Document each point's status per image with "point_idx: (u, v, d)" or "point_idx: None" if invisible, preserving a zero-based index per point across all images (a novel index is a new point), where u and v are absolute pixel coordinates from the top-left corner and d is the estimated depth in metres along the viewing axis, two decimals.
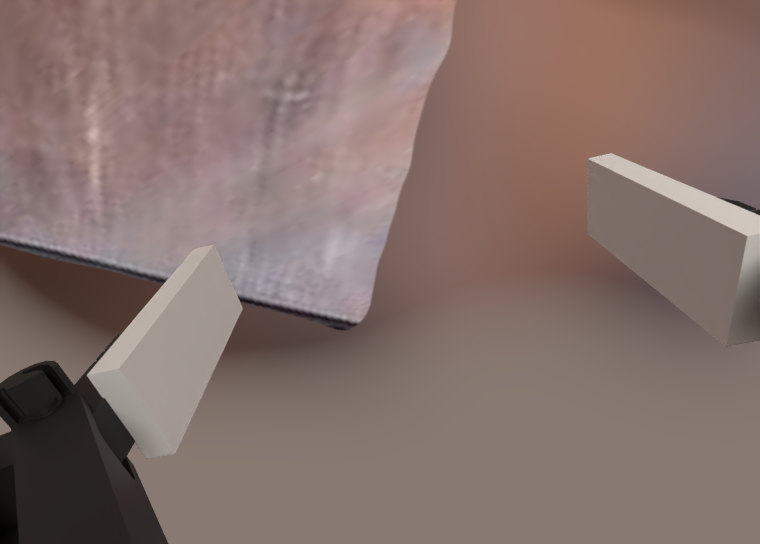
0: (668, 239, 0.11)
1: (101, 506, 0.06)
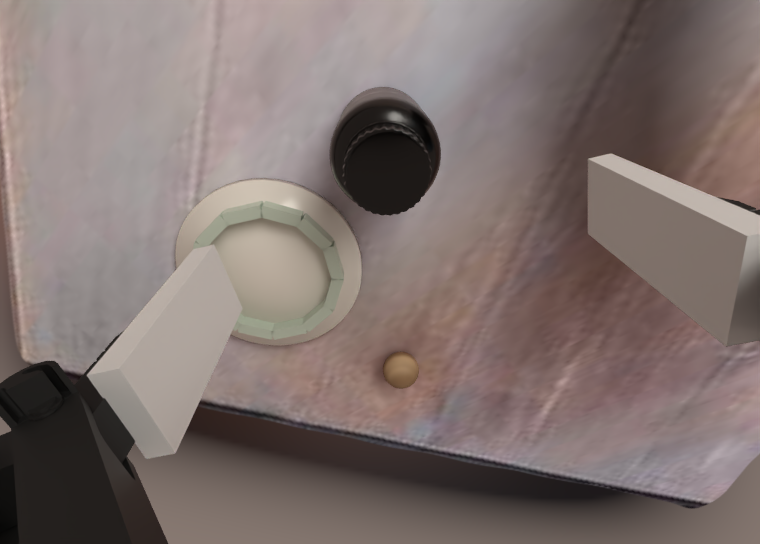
0: (668, 239, 0.11)
1: (101, 506, 0.06)
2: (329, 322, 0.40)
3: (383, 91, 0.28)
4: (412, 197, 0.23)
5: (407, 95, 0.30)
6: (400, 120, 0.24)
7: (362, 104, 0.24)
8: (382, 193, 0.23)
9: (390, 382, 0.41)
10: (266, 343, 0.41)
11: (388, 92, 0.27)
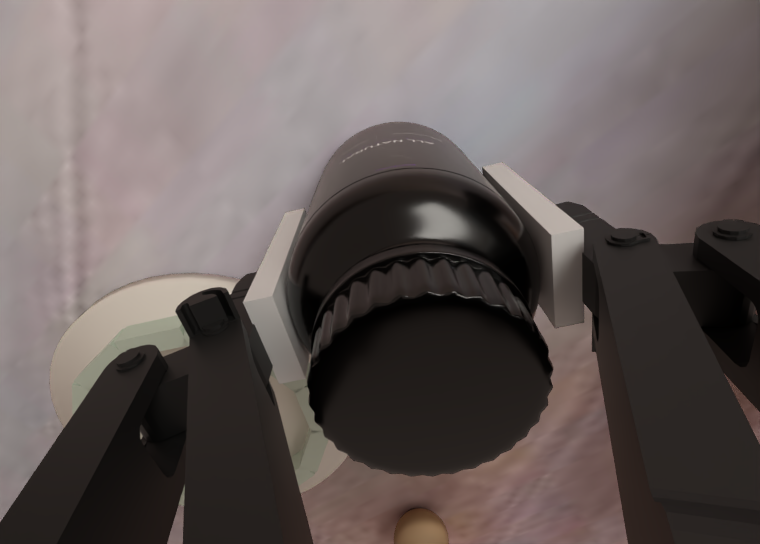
0: None
1: (249, 427, 0.07)
2: (310, 478, 0.25)
3: (404, 139, 0.13)
4: (494, 443, 0.09)
5: (448, 140, 0.15)
6: (457, 233, 0.09)
7: (361, 188, 0.10)
8: (415, 437, 0.09)
9: None
10: None
11: (416, 143, 0.13)
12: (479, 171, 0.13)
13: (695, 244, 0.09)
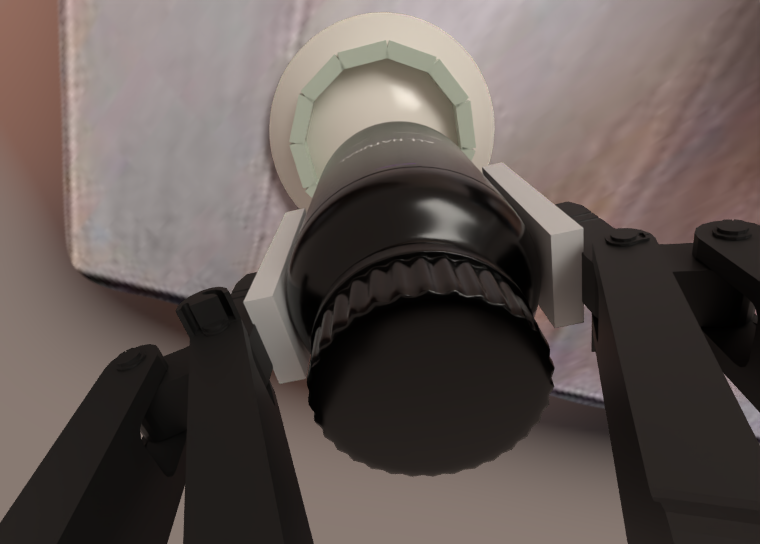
0: None
1: (249, 427, 0.07)
2: None
3: (404, 138, 0.13)
4: (495, 443, 0.09)
5: (447, 139, 0.15)
6: (458, 232, 0.09)
7: (361, 186, 0.10)
8: (415, 436, 0.09)
9: None
10: None
11: (416, 142, 0.13)
12: (479, 170, 0.13)
13: (694, 244, 0.09)
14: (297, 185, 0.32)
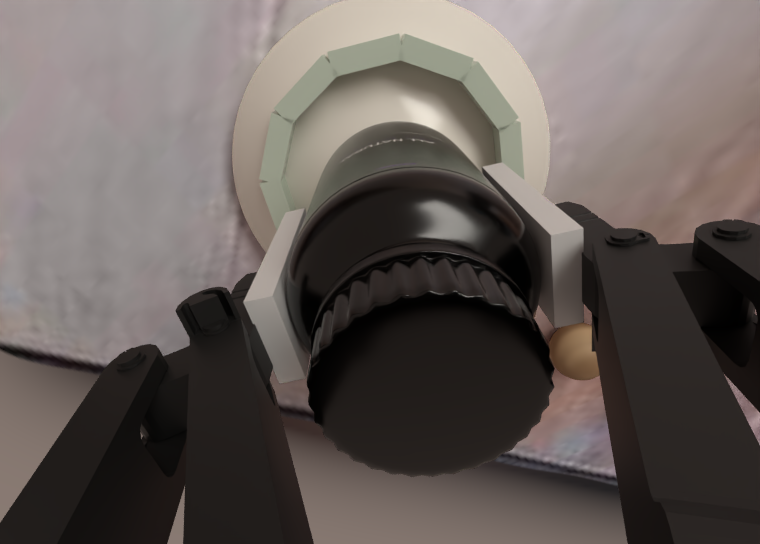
0: None
1: (249, 426, 0.07)
2: None
3: (404, 139, 0.13)
4: (495, 443, 0.09)
5: (447, 140, 0.15)
6: (458, 232, 0.09)
7: (361, 187, 0.10)
8: (416, 437, 0.09)
9: (569, 370, 0.25)
10: None
11: (416, 143, 0.13)
12: (479, 170, 0.13)
13: (694, 244, 0.09)
14: (274, 235, 0.23)
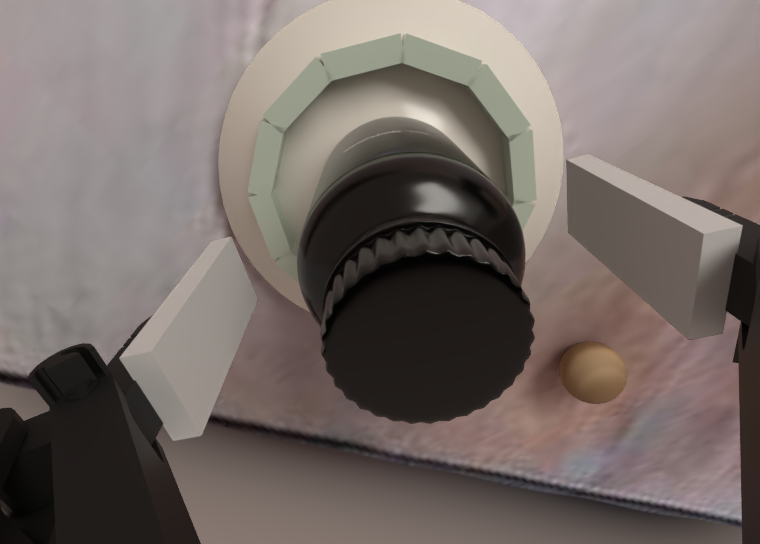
0: (637, 237, 0.11)
1: (131, 486, 0.06)
2: None
3: (402, 130, 0.15)
4: (484, 391, 0.10)
5: (441, 133, 0.17)
6: (451, 208, 0.11)
7: (365, 169, 0.11)
8: (415, 385, 0.10)
9: (582, 393, 0.24)
10: None
11: (413, 133, 0.14)
12: None
13: None
14: (265, 251, 0.21)
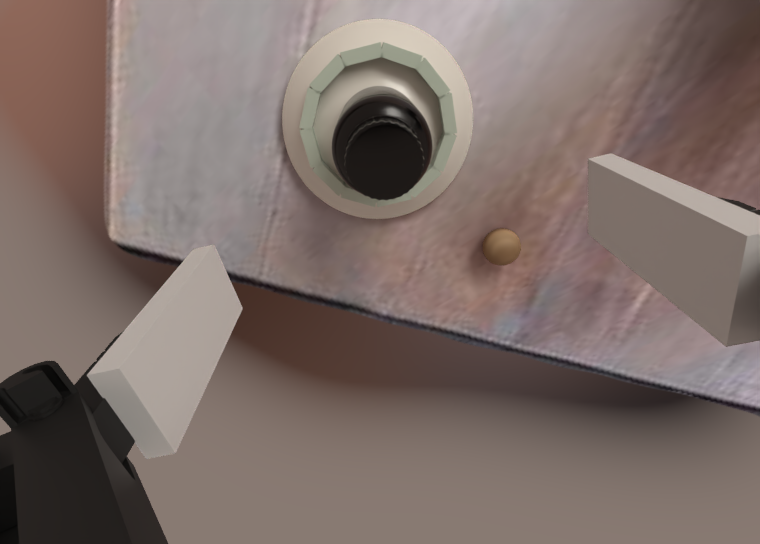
0: (668, 239, 0.11)
1: (101, 505, 0.06)
2: (432, 191, 0.39)
3: (380, 89, 0.30)
4: (406, 184, 0.26)
5: (402, 93, 0.33)
6: (396, 115, 0.26)
7: (361, 100, 0.27)
8: (379, 180, 0.26)
9: (493, 256, 0.40)
10: (365, 216, 0.39)
11: (385, 90, 0.30)
12: None
13: None
14: (305, 166, 0.37)
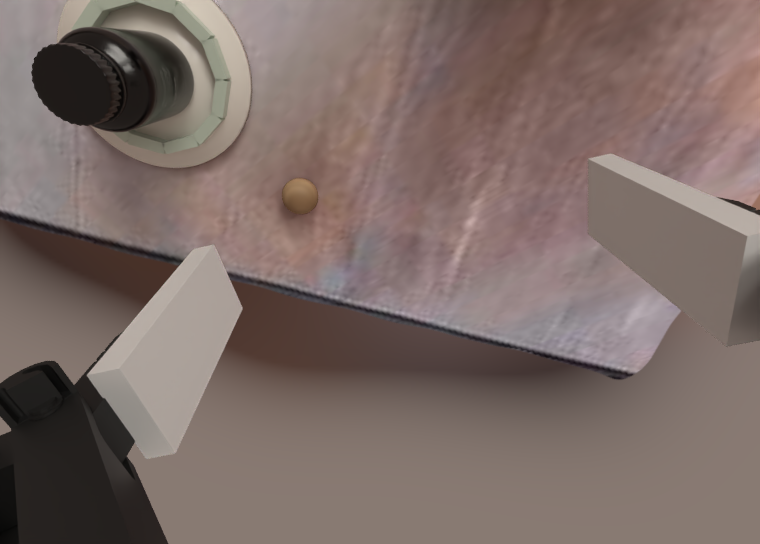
0: (668, 239, 0.11)
1: (100, 506, 0.06)
2: (223, 140, 0.40)
3: None
4: (100, 108, 0.27)
5: (157, 37, 0.34)
6: (97, 44, 0.28)
7: None
8: (72, 104, 0.27)
9: (287, 204, 0.41)
10: (162, 165, 0.41)
11: None
12: (151, 43, 0.32)
13: None
14: None
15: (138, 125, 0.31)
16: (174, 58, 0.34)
